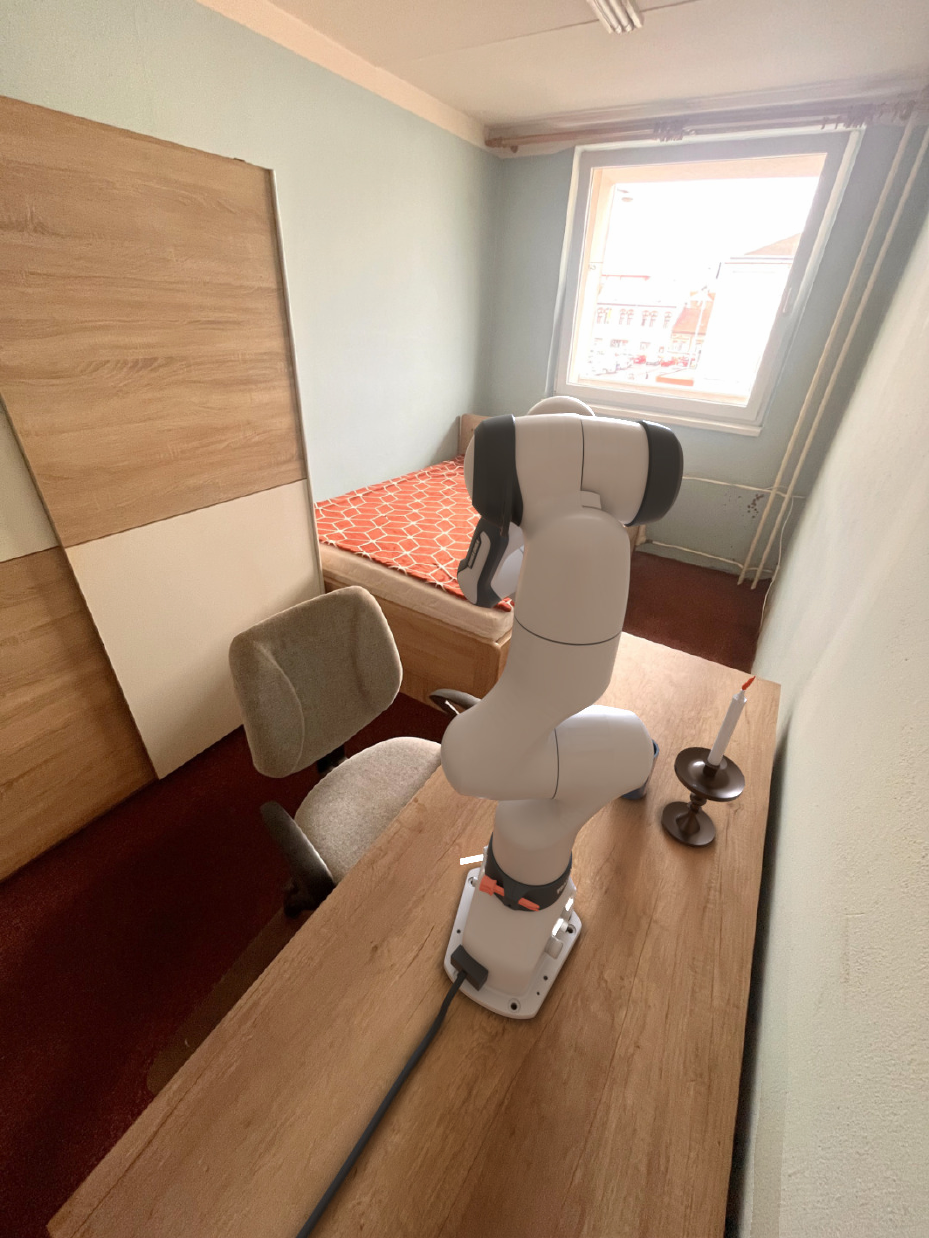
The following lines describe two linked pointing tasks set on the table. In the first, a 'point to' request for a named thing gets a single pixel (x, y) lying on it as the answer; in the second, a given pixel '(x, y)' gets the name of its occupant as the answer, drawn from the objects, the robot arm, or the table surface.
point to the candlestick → (705, 782)
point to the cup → (642, 790)
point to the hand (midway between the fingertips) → (592, 666)
